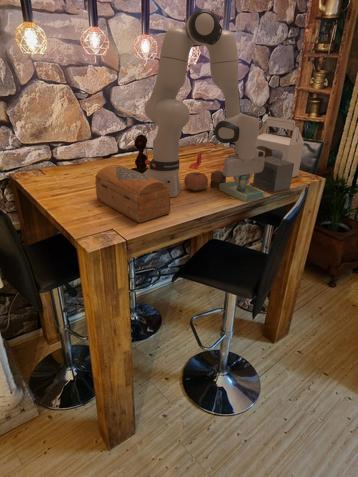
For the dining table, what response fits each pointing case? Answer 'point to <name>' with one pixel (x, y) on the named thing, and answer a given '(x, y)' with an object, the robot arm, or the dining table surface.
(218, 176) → the walnut block
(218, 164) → the dining table surface
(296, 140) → the gable box
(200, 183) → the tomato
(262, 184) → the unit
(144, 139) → the dark statuette
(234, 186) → the tray
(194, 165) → the bracket
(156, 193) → the wooden box
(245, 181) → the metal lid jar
